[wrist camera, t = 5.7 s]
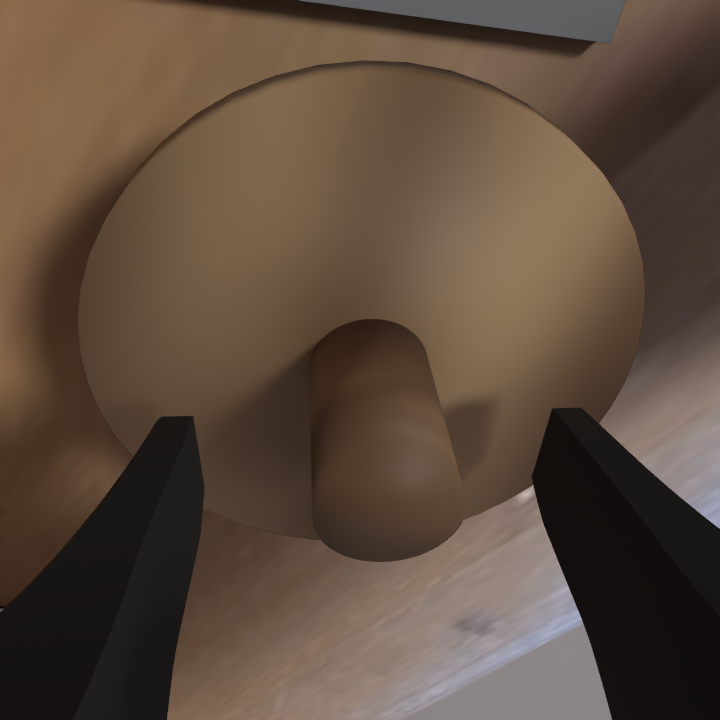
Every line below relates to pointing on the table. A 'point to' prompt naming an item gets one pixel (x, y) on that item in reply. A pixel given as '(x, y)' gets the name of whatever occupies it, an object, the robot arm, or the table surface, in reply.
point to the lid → (362, 300)
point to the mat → (510, 14)
